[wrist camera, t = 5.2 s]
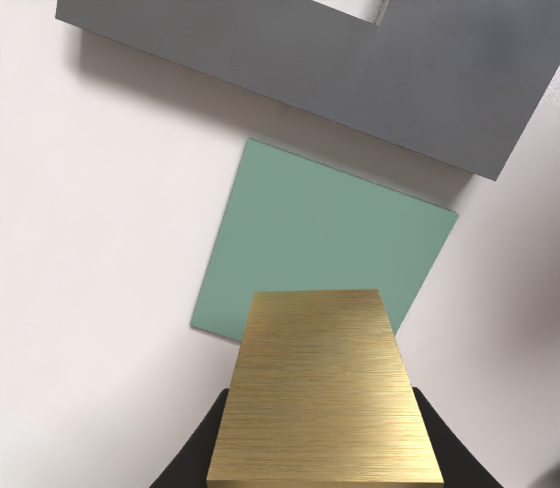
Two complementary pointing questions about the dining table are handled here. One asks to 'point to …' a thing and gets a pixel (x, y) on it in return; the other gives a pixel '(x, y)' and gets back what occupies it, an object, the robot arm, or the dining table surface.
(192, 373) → the dining table surface
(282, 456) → the brushed gold bar
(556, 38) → the grey board with hole
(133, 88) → the dining table surface
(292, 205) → the green mat
